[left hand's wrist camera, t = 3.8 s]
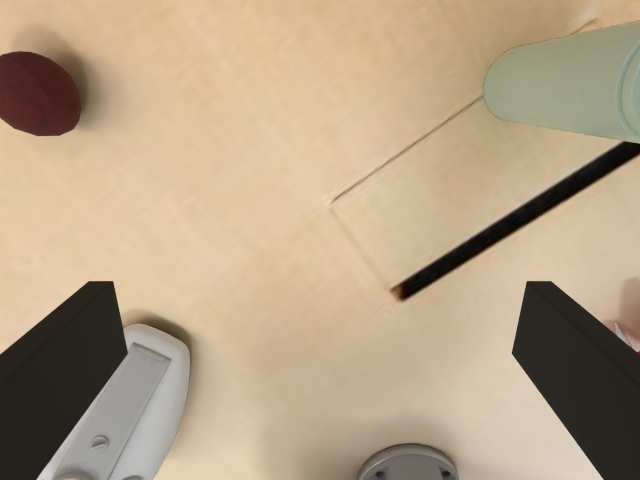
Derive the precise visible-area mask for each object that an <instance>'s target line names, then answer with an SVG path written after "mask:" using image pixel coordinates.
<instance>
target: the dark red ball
mask: <svg viewBox="0 0 640 480" xmlns="http://www.w3.org/2000/svg"><path fill="white" fill-rule="evenodd" d="M80 111H81V105H80V98H79V92H78V90H77V88H76V86H75V84H74V82H73V79H72V77H71V76H70V75H69V74H68V73H67V72H66V71H65V70H64V69H63V68H62V67H60V66H59V65H58V64H56V63H55V62H53V61H52V60H50V59H49V58H46V57H44V56H41V55H39V54H35V53H32V52H22V51H19V52H11V53H7V54H3V55H1V56H0V118H1V119H2V120H4V121H5V122H6V123H8V124H9V125H10V126H12V127H13V128H14V129H17V130H21V131H24V132H27V133H30V134H33V135H36V136H59V135H62V134H64V133H66V132H69V131H71V130H72V129H74V127H75V126H76V124H77V123H78V121H79V118H80Z"/></svg>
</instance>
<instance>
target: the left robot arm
mask: <svg viewBox="0 0 640 480" xmlns="http://www.w3.org/2000/svg"><path fill="white" fill-rule="evenodd" d="M127 355H128V350H127V345H126V341H125V336H124V331H123V326H122V321H121V317H120V312H119V307H118V302H117V297H116V293H115V288H114V283H113V281H89V282H87V283H86V284H85V285H84V286H83V287H81V288H80V289H79V290H78V291H77V292H75V293H74V294H73V295H72V296H71V297H69V298H68V299H67V300H66V301H64V302H63V303H62V304H61V305H60V306H58V307H57V308H56V309H55V310H54V311H52V312H51V313H50V314H49V315H48V316H46V317H45V318H44V319H43V320H41V321H40V322H39V323H38V324H37V325H35V326H34V327H33V328H32V329H31V330H29V331H28V332H27V333H26V334H25V335H23V336H22V337H21V338H20V339H18V340H17V341H16V342H15V343H14V344H12V345H11V346H10V347H9V348H8V349H6V350H5V351H4V352H3V353H2V354H0V480H36V479H37V478H38V477H39V475H40V474H41V473H42V471H43V470H44V468H45V467H46V466H47V464H48V463H49V462H50V460H51V459H52V457H53V456H54V455H55V453H56V452H57V451H58V449H59V448H60V446H61V445H62V444H63V442H64V441H65V440H66V438H67V437H68V435H69V434H70V433H71V431H72V430H73V429H74V427H75V426H76V424H77V423H78V422H79V420H80V419H81V418H82V416H83V415H84V414H85V412H86V411H87V409H88V408H89V407H90V405H91V404H92V403H93V401H94V400H95V398H96V397H97V396H98V394H99V393H100V392H101V390H102V389H103V387H104V386H105V385H106V383H107V382H108V381H109V379H110V378H111V376H112V375H113V374H114V372H115V371H116V370H117V368H118V367H119V366H120V364H121V363H122V361H123V360H124V359H125V357H126V356H127ZM512 355H513V356H514V357H515V359H516V360H517V361H518V363H519V364H520V366H521V367H522V368H523V370H524V371H525V372H526V374H527V375H528V376H529V378H530V379H531V381H532V382H533V383H534V385H535V386H536V387H537V389H538V390H539V392H540V393H541V394H542V396H543V397H544V398H545V400H546V401H547V403H548V404H549V405H550V407H551V408H552V409H553V411H554V412H555V414H556V415H557V416H558V418H559V419H560V420H561V422H562V423H563V424H564V426H565V427H566V429H567V430H568V431H569V433H570V434H571V435H572V437H573V438H574V440H575V441H576V442H577V444H578V445H579V446H580V448H581V449H582V451H583V452H584V453H585V455H586V456H587V457H588V459H589V460H590V462H591V463H592V464H593V466H594V467H595V468H596V470H597V471H598V473H599V474H600V475H601V477H602V478H603V479H604V480H640V354H638V353H637V352H636V351H635V350H634V349H632V348H631V347H630V346H629V345H628V344H626V343H625V342H624V341H623V340H622V339H620V338H619V337H618V336H617V335H615V334H614V333H613V332H612V331H611V330H609V329H608V328H607V327H606V326H605V325H603V324H602V323H601V322H600V321H599V320H597V319H596V318H595V317H594V316H592V315H591V314H590V313H589V312H588V311H586V310H585V309H584V308H583V307H582V306H580V305H579V304H578V303H577V302H576V301H574V300H573V299H572V298H571V297H569V296H568V295H567V294H566V293H565V292H563V291H562V290H561V289H560V288H559V287H557V286H556V285H555V284H554V283H553V282H551V281H527V283H526V288H525V293H524V297H523V302H522V307H521V312H520V317H519V321H518V326H517V331H516V336H515V341H514V345H513V350H512ZM357 480H459V478H458V475H457V472H456V469H455V467H454V465H453V463H452V462H451V461H450V459H449V458H448V457H447V456H445V455H444V454H443V453H441V452H440V451H438V450H436V449H433V448H430V447H427V446H422V445H399V446H394V447H391V448H388V449H385V450H383V451H381V452H379V453H377V454H375V455H374V456H372V457H371V458H370V459H369V460H368V461H367V462H366V463H365V464H364V465H363V467H362V468H361V470H360V472H359V474H358V478H357Z"/></svg>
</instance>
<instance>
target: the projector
mask: <svg viewBox="0 0 640 480" xmlns="http://www.w3.org/2000/svg"><path fill="white" fill-rule="evenodd" d="M123 331H124V336H125V341H126V345H127V350H128V355H127V356H126V357H125V359H124V360H123V361H122V363H121V364H120V366H119V367H118V368H117V370H116V371H115V372H114V374H113V375H112V376H111V378H110V379H109V381H108V382H107V383H106V385H105V386H104V387H103V389H102V390H101V392H100V393H99V394H98V396H97V397H96V398H95V400H94V401H93V403H92V404H91V405H90V407H89V408H88V409H87V411H86V412H85V414H84V415H83V416H82V418H81V419H80V420H79V422H78V423H77V424H76V426H75V427H74V429H73V430H72V431H71V433H70V434H69V435H68V437H67V438H66V440H65V441H64V442H63V444H62V445H61V446H60V448H59V449H58V451H57V452H56V453H55V455H54V456H53V457H52V459H51V460H50V462H49V463H48V464H47V466H46V467H45V468H44V470H43V471H42V473H41V474H40V475H39V477H40V478H41V479H42V480H153V479H154V477H155V476H156V474H157V472H158V471H159V469H160V467H161V465H162V464H163V462H164V460H165V458H166V456H167V454H168V452H169V449H170V447H171V445H172V443H173V440H174V438H175V436H176V433H177V430H178V428H179V425H180V422H181V418H182V415H183V412H184V407H185V403H186V398H187V393H188V386H189V376H190V353H189V349H188V347H187V346H186V345H185V344H184V343H183V342H182V341H180V340H178V339H176V338H175V337H173V336H171V335H169V334H167V333H165V332H163V331H161V330H158V329H156V328H153V327H151V326H148V325H145V324H140V323H135V324H132V325H129V326H127V327H126V328H124V329H123Z"/></svg>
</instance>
